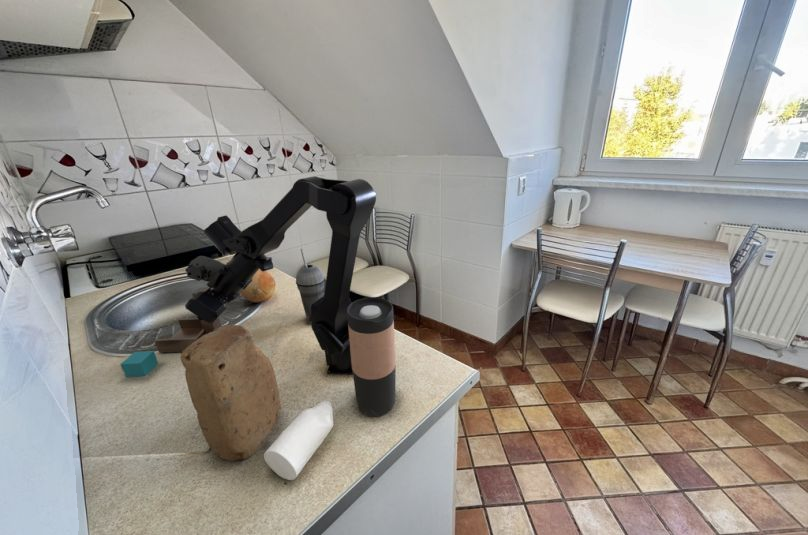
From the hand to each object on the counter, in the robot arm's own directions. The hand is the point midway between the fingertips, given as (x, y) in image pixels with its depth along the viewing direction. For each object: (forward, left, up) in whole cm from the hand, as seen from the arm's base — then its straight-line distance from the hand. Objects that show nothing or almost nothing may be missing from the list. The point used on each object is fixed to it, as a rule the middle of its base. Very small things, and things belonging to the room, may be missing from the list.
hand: (203, 314), depth 74 cm
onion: (-2, -21, -8) cm, 23 cm away
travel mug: (-42, +17, -8) cm, 46 cm away
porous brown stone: (-22, +25, -8) cm, 34 cm away
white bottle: (-33, +26, -8) cm, 42 cm away
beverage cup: (-22, -11, -8) cm, 26 cm away
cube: (+6, +10, -6) cm, 14 cm away
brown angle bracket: (+3, 0, -7) cm, 7 cm away
